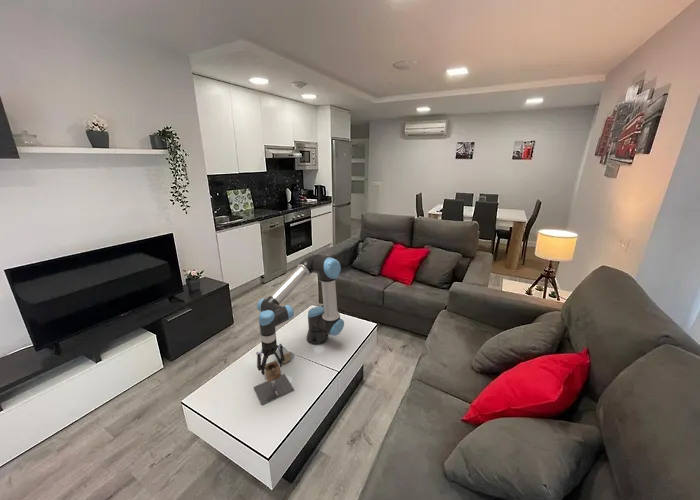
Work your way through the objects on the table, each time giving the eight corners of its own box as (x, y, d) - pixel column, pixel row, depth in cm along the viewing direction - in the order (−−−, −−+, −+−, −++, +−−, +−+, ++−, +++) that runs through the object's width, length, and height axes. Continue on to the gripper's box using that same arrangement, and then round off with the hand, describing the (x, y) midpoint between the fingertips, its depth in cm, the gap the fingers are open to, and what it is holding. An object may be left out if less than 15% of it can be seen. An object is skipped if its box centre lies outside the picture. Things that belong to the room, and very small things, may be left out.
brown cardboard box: (276, 369, 161) (275, 360, 159) (280, 377, 156) (280, 367, 154) (263, 374, 158) (262, 364, 156) (268, 382, 152) (267, 372, 150)
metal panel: (284, 375, 170) (283, 368, 168) (294, 390, 159) (293, 383, 157) (253, 388, 160) (252, 381, 159) (261, 405, 149) (260, 398, 148)
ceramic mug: (282, 366, 177) (281, 355, 175) (275, 359, 183) (274, 349, 180) (296, 358, 184) (296, 348, 182) (289, 352, 190) (289, 342, 187)
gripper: (284, 329, 158) (287, 364, 165) (247, 342, 147) (251, 378, 154) (289, 336, 152) (292, 372, 159) (251, 350, 141) (256, 387, 148)
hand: (272, 375), depth 157 cm, fingers closed on brown cardboard box, 7 cm apart
